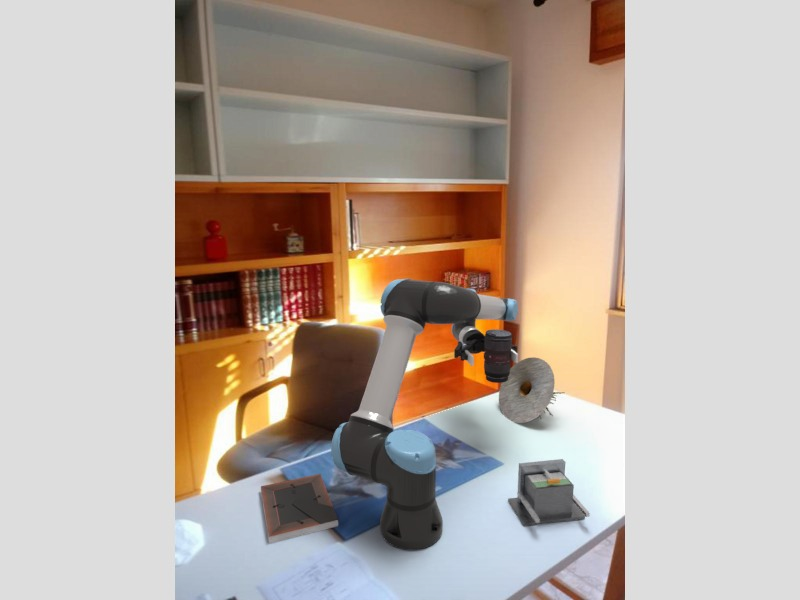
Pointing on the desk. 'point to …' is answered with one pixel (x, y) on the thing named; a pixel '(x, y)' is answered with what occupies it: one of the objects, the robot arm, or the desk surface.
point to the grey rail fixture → (546, 469)
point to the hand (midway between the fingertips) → (494, 359)
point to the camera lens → (497, 355)
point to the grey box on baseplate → (547, 500)
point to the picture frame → (297, 508)
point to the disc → (527, 390)
